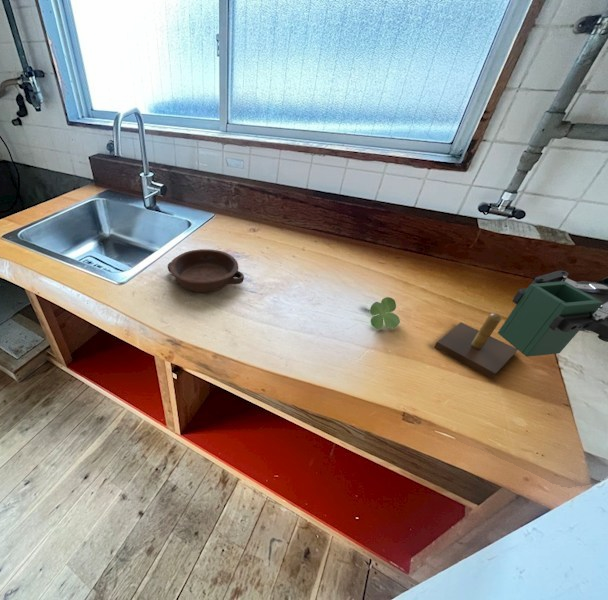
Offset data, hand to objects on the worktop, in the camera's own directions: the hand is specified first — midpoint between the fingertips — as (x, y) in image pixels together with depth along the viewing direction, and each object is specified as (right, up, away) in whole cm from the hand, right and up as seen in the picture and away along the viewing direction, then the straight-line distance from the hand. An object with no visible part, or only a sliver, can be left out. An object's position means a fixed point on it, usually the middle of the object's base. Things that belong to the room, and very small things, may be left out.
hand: (535, 309), depth 43 cm
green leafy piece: (-6, -3, +29) cm, 29 cm away
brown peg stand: (+8, -9, +20) cm, 24 cm away
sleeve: (+3, -5, +4) cm, 7 cm away
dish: (-45, +7, +45) cm, 64 cm away
